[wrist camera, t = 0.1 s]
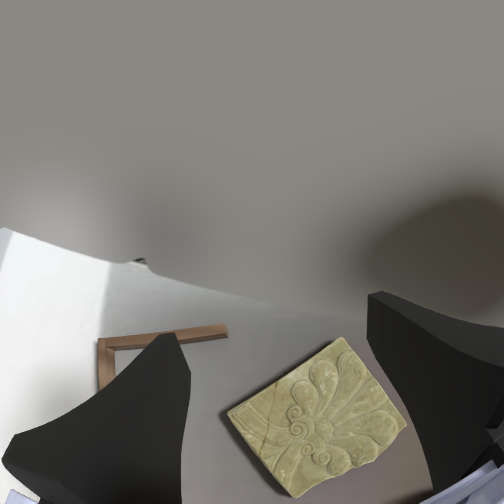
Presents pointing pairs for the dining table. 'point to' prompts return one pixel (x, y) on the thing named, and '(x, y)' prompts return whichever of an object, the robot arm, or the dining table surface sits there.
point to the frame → (142, 341)
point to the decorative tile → (319, 420)
